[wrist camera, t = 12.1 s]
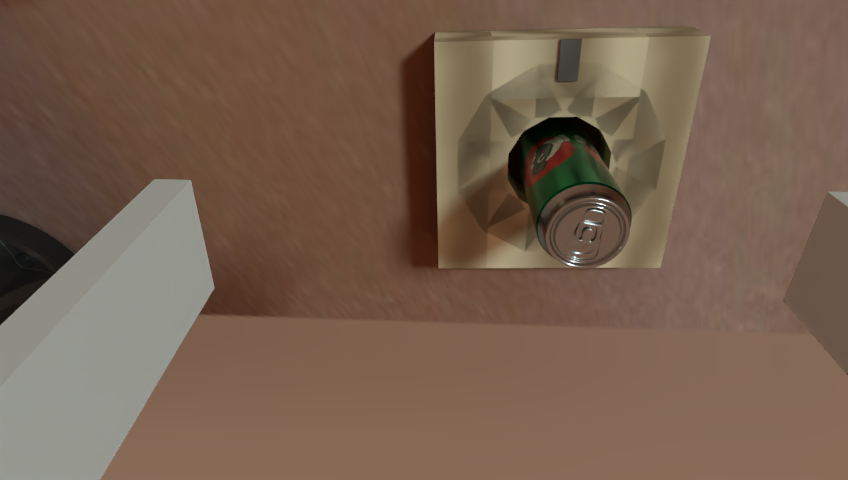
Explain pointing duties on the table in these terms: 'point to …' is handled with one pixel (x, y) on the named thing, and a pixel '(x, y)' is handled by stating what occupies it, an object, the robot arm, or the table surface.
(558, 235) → the soda can
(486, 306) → the table surface
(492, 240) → the hub block
